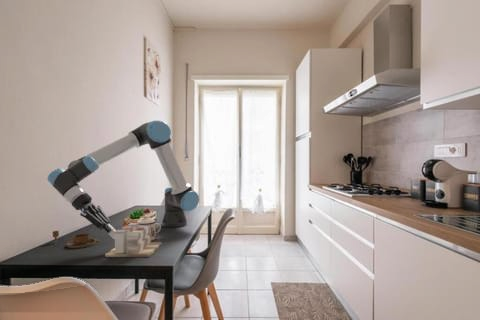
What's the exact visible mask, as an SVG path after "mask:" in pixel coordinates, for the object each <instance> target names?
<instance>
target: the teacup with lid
mask: <svg viewBox="0 0 480 320" xmlns="http://www.w3.org/2000/svg"><path fill="white" fill-rule="evenodd" d="M136 223H139V225H138V228H139V227H140V226H142V225H151V242H152V241H153V240H155V239H156V234H158V233H160V231H161V229H162V224H160V223H159V222H156V220H155V219H153V218H151V217H149V215H144V216H143V218H141V219H138V220H137V221H136ZM157 225H158V226H159V227H158V230H156V226H157Z"/></svg>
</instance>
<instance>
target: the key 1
mask: <svg viewBox="0 0 480 320" xmlns="http://www.w3.org/2000/svg"><path fill="white" fill-rule="evenodd" d="M114 248H115V253H124V252H126V251H127V230H121V229H116V231H115V239H114Z"/></svg>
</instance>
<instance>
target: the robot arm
mask: <svg viewBox="0 0 480 320" xmlns="http://www.w3.org/2000/svg"><path fill="white" fill-rule="evenodd" d="M171 135H172V133H171V128H170V126H169V124H168V123H166V121H163V120H158V119H157V120H152V121H147V122H145V123H142V124H141V125H139V126H138V127H136V128H135V129H132V130H131V131H130V132H128V133H127V135H125V136H123V137H122V138H119V139H117V140H115V141H113V142H111V143H109V144H107V145H105V146H102V147H101V148H98V149H97V150H94V151H92V152H90V153H88V154H86V155H84V156H83V157H80V158H78V159H75V160H73V161H70V163H69V164H68V166H67V169H64V168H62V167H61V168H60V167H59V168H57V169H55V170H52V171H51V172H50V173H49V174H48V175H47V181H48V182H49V183H50V184H51V186H52V187H53V188H54V189H55V190H56V191H57V192H58V193H59V194H60V195H62V197H63V198H64V199H65V201H67V202H68V203H69V204H71V206H72V207H73V208H74V209H75V210H76V211H81V212H80V213H79V215H80V216H81V217H83V218H85V219H86V220H87V221H89V223H91V224H92V225H94V226H95V227H96V228H97V229H99V230H101V231H102V230H104V231H105V232H106V234H108V235H109V236H110V237H111V238H112V239H113V240H115V231H117V229H115V227H113V225H111V224H110V223H111V219H110V218H109V217H108V216H107V214H106V212H104V210H103V209H102V208H101V206H100V205H97V206H96V204H94V203H93V202H92V200H93V199H92V196H90V195H89V194H88V193H87V192H86V191H85V190H84V188H82V187H81V185H79V184H78V183H80V182H81V181H83V180H85V179H86V178H87V177H89V176H90V175H92V174H93V173H95V172H96V171H97V170H98V169H99V168H100V166H102V165H104V164H105V163H107V162H110V161H112V160H114V159H115V158H117V157H119V156H121V155H123V154H125V153H126V152H128V151H130V150H132V149H134V148H137V149H138V148H140V147H143V146H145V145H148V146H149V147H150V149H151V150H153V151H154V152H155V154H156V156H157V158H158V160H159V163H160V165H161V166H162V169H163V172H164V173H165V176H166V178H167V180H168V182H169V185H170V187H166V188H165V189H164V214H163V217H162V219H161V227H164V228H179V227H180V228H181V227H185V226H187V225H188V219H187V216H186V214H185V212H192V211H193V210H195V209H196V208H197V207H198V205H199V204H200V203H199V202H200V196H199V193H198V192H196V191H195V190H193V187H192V186H191V183H188V182H187V181H186V180H187V179H186V178H185V176H184V174H183V171H182V169H181V167H180V165H179V161H178V160H177V158H176V154H175V153H174V150H173V149H172V146H171V143H172V139H171Z"/></svg>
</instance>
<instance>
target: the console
mask: <svg viewBox="0 0 480 320" xmlns="http://www.w3.org/2000/svg"><path fill="white" fill-rule="evenodd" d="M161 246H162V241H159V242H158V241H157V242H154V241H153V242H152V241H151V225H142V226H140V227H139V228H137V229H135V230H134V231H132V232H131V233H129V234H127V251H126V252H124V253H115V247H114V248H112V249H111V250H109V251H108V252H106V253H105V254H104V255H105V257H106V258H109V257H111V258H122V257H123V258H133V257H134V258H137V257H138V258H139V257H140V258H144V257H145V258H149V257H151V256H152V255H153V254H154V253H155V252H156V251H157V250H158V249H159V248H160V247H161Z"/></svg>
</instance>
